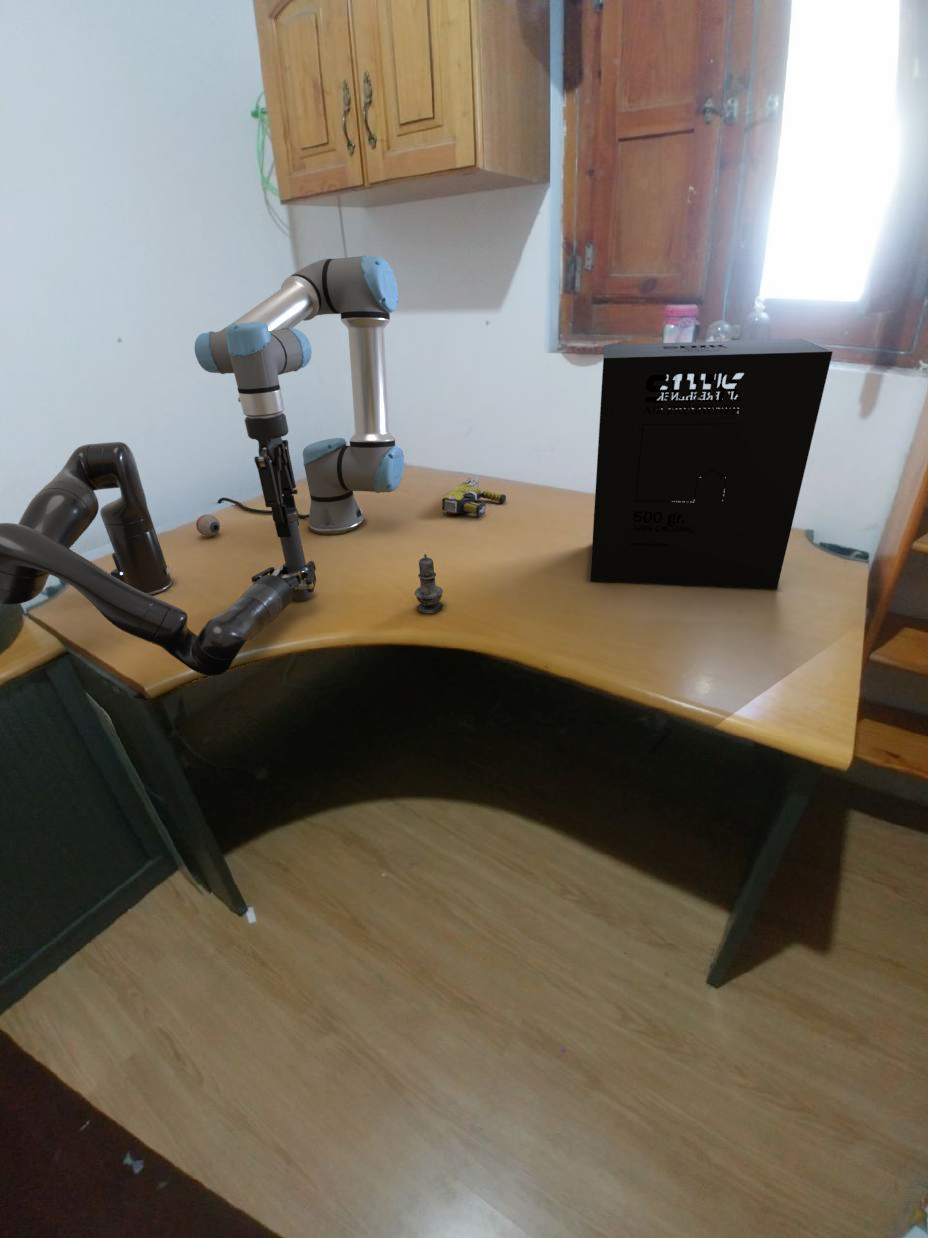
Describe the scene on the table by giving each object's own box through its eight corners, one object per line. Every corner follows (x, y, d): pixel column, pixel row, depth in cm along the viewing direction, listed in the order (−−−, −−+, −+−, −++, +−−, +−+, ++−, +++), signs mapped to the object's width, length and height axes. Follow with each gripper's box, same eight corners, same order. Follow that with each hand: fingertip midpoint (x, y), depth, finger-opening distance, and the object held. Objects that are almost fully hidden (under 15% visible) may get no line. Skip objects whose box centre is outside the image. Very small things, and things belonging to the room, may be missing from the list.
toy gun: (514, 482, 184) (468, 475, 188) (491, 505, 164) (440, 497, 168) (513, 497, 186) (467, 490, 190) (490, 522, 166) (439, 513, 170)
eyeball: (209, 541, 163) (203, 520, 160) (195, 537, 166) (188, 517, 163) (227, 533, 168) (222, 513, 165) (213, 530, 171) (207, 510, 168)
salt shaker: (440, 614, 122) (436, 560, 116) (412, 613, 123) (406, 559, 117) (447, 600, 127) (443, 548, 121) (420, 599, 128) (414, 547, 122)
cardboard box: (756, 549, 141) (800, 338, 118) (776, 589, 124) (832, 351, 101) (592, 544, 148) (604, 344, 126) (590, 580, 131) (603, 357, 109)
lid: (277, 525, 120) (275, 517, 119) (270, 518, 124) (268, 510, 123) (302, 519, 122) (301, 511, 121) (294, 512, 126) (293, 504, 125)
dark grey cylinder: (291, 595, 133) (273, 512, 124) (310, 591, 134) (293, 509, 125) (294, 603, 130) (276, 518, 120) (313, 599, 131) (296, 515, 122)
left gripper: (293, 586, 113) (330, 549, 128) (226, 582, 116) (269, 547, 131) (301, 620, 117) (335, 581, 132) (235, 616, 120) (276, 578, 135)
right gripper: (260, 405, 121) (283, 516, 132) (226, 426, 105) (256, 549, 117) (297, 404, 120) (317, 514, 132) (269, 424, 105) (294, 547, 116)
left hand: (302, 564), depth 131 cm, fingers closed on dark grey cylinder, 4 cm apart
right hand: (288, 530), depth 124 cm, fingers closed on lid, 5 cm apart
